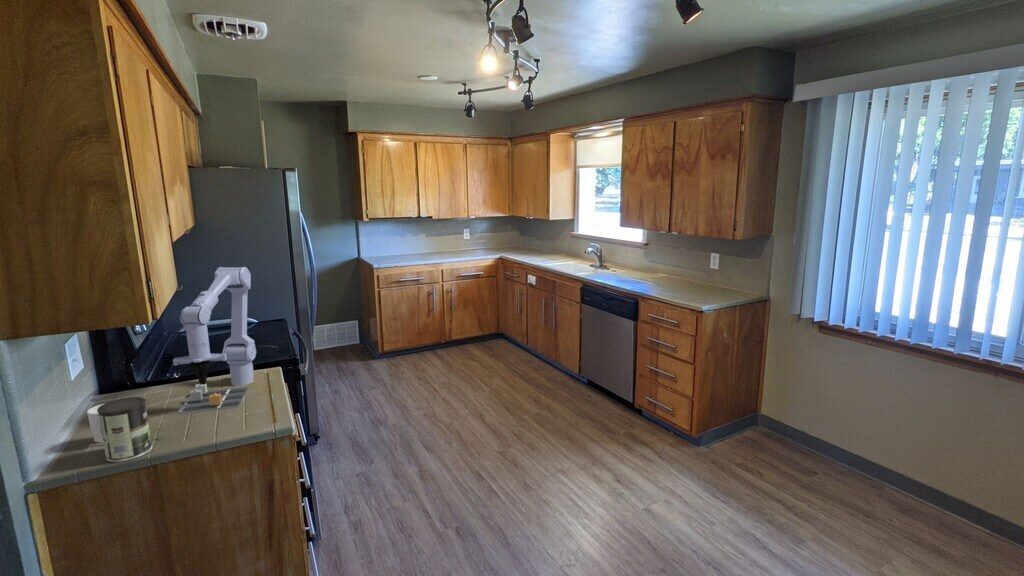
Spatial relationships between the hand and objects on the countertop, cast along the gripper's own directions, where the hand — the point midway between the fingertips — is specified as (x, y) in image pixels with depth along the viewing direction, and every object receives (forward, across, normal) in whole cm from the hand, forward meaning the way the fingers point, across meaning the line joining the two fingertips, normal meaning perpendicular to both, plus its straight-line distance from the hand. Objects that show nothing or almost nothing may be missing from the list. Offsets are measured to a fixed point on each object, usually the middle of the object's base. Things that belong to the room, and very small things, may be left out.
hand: (203, 383), depth 161 cm
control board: (+9, +1, +6) cm, 11 cm away
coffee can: (+9, -13, -25) cm, 29 cm away
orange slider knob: (+8, +3, 0) cm, 9 cm away
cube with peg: (+8, -4, +6) cm, 11 cm away
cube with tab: (+8, -4, +12) cm, 15 cm away
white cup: (+9, -21, -15) cm, 27 cm away
